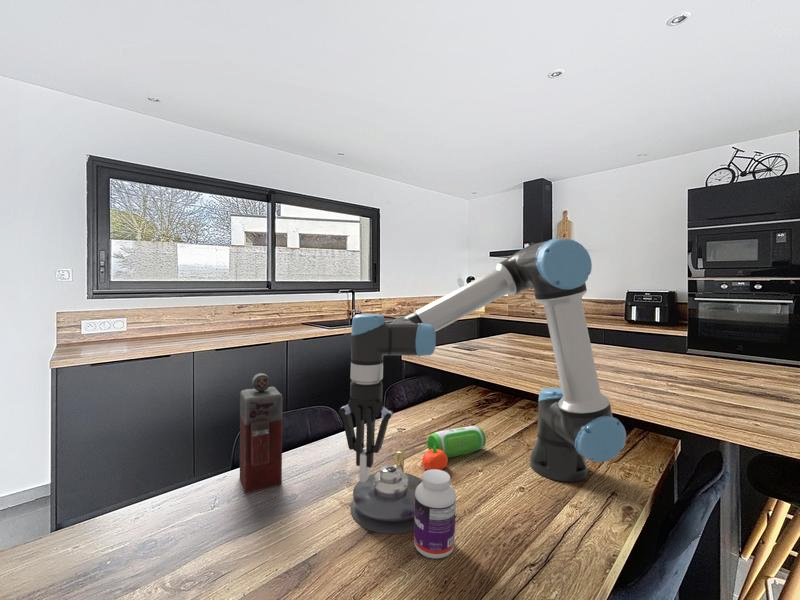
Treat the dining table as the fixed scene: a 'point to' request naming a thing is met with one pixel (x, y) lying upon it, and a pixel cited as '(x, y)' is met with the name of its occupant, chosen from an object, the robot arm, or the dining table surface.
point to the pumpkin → (434, 459)
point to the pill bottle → (435, 515)
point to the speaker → (458, 440)
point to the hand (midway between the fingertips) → (364, 479)
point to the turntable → (386, 509)
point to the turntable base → (381, 524)
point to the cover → (390, 483)
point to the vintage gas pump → (260, 435)
